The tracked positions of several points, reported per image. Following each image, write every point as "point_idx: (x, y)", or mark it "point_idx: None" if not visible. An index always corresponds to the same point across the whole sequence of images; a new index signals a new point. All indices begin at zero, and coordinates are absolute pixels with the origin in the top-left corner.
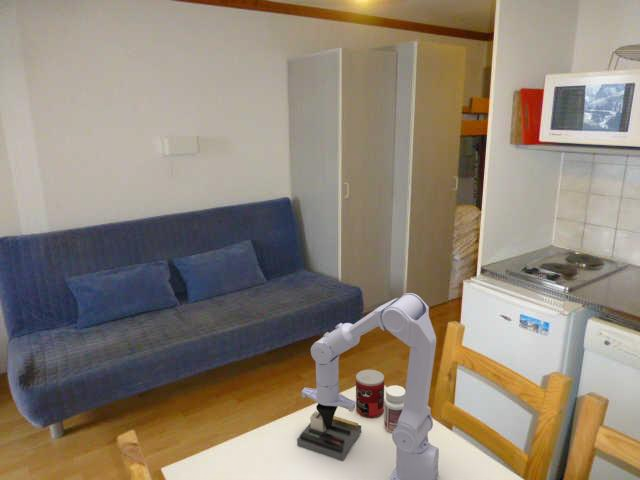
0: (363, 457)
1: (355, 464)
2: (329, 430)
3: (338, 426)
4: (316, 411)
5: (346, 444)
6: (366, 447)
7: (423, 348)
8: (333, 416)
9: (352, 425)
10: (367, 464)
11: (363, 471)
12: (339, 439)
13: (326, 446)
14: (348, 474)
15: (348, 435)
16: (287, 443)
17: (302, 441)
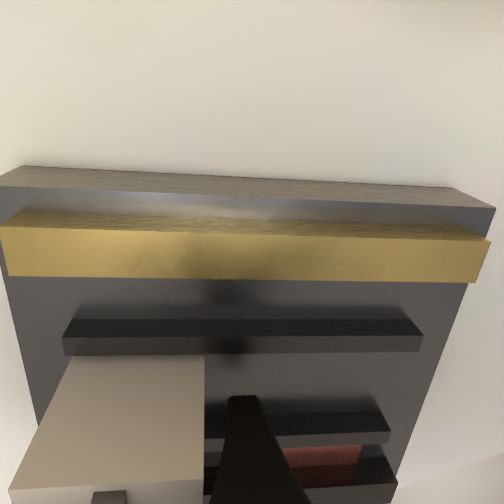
0: (477, 383)
1: (438, 432)
2: (234, 363)
3: (308, 340)
4: (33, 492)
5: (400, 424)
6: (493, 313)
7: None
8: (293, 474)
9: (430, 275)
10: (499, 411)
11: (480, 448)
12: (356, 442)
13: None
14: (413, 483)
15: (398, 352)
16: (6, 464)
17: None
